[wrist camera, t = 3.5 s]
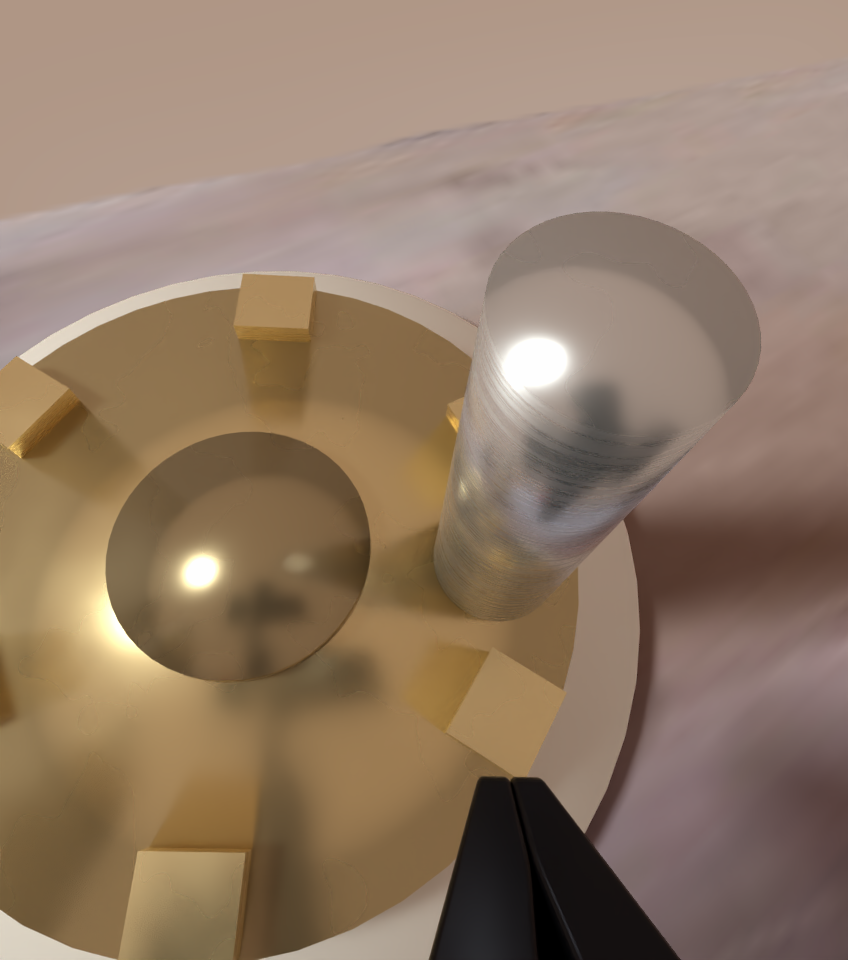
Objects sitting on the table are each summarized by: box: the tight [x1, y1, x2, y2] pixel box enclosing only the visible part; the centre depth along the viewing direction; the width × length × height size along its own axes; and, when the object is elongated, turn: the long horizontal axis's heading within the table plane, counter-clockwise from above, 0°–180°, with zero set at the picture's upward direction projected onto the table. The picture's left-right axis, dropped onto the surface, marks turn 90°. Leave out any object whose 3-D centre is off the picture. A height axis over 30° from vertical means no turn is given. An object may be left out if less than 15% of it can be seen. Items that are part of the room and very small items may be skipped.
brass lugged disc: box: [0, 212, 761, 960], centre depth 11 cm, size 16×16×10 cm
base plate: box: [0, 271, 640, 960], centre depth 16 cm, size 20×20×1 cm
